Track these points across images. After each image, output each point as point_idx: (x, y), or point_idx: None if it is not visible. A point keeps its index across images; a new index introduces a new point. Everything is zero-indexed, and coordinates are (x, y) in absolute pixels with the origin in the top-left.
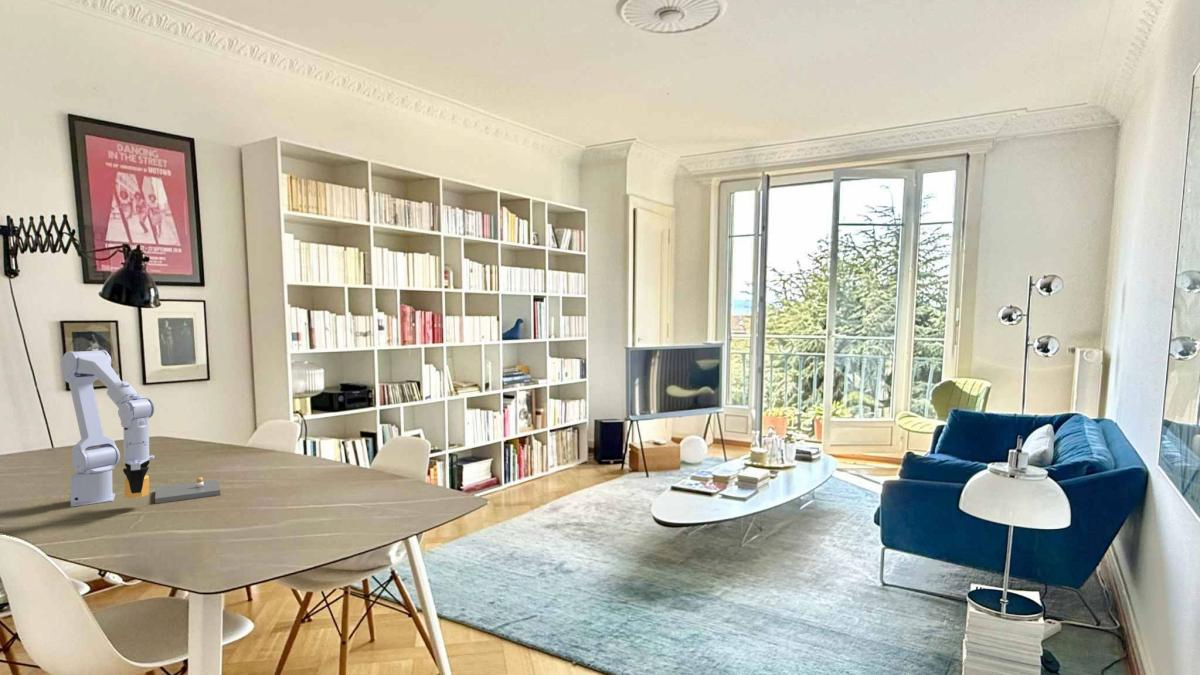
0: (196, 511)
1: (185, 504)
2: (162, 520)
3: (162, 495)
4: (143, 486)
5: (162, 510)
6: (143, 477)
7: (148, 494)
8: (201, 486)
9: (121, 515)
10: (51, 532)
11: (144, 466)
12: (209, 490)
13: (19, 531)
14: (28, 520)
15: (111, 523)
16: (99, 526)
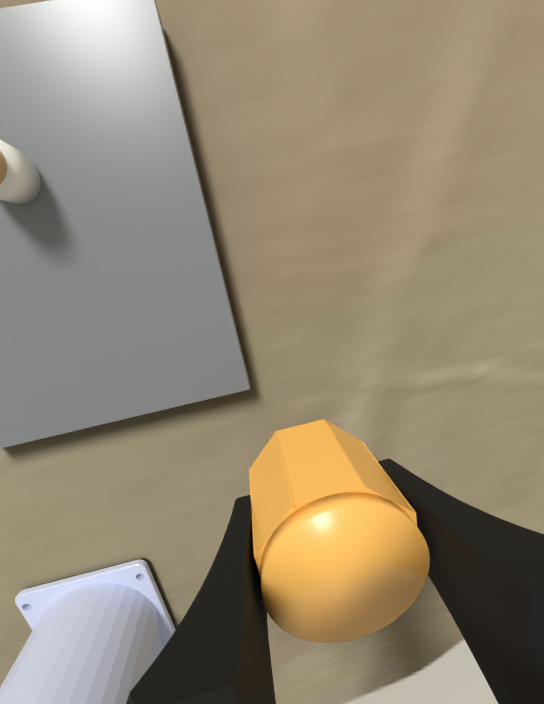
0: (467, 139)
1: (303, 226)
2: (534, 279)
3: (192, 369)
4: (380, 473)
5: (370, 317)
6: (497, 522)
7: (324, 420)
8: (25, 157)
9: (375, 458)
10: None
11: (250, 660)
12: (142, 80)
13: (419, 658)
14: (308, 687)
15: (469, 457)
16: (485, 481)
